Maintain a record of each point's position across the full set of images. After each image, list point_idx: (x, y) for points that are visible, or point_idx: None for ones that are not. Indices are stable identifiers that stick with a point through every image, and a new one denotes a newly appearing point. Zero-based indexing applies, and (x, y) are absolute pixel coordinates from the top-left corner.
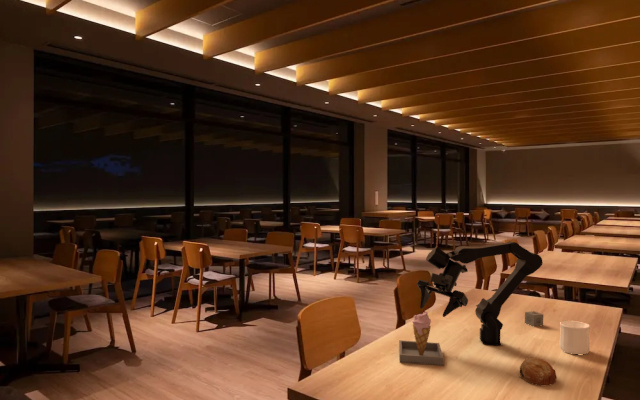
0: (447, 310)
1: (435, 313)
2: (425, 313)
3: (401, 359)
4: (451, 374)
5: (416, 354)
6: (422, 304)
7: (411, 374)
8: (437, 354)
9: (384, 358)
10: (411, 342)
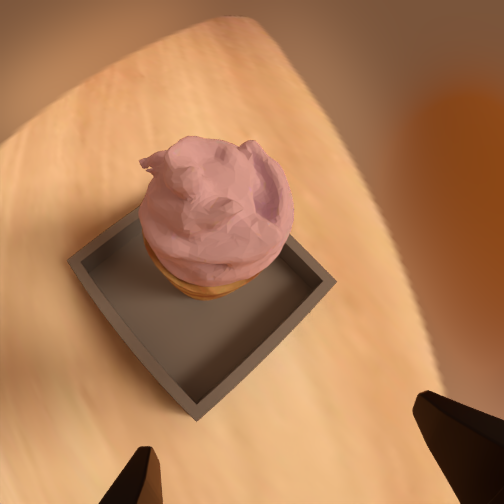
0: (105, 499)
1: None
2: (179, 162)
3: None
4: (30, 230)
5: None
6: (439, 414)
7: (124, 141)
8: (154, 352)
9: None
10: (291, 313)
